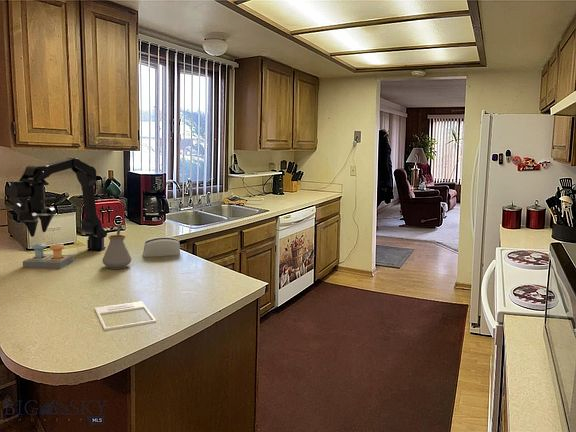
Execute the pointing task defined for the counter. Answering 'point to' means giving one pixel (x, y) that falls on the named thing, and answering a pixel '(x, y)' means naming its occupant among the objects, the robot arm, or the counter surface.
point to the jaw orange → (57, 250)
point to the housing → (48, 262)
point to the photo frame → (119, 309)
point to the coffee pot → (116, 252)
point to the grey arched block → (161, 246)
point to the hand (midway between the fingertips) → (38, 234)
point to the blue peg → (39, 250)
